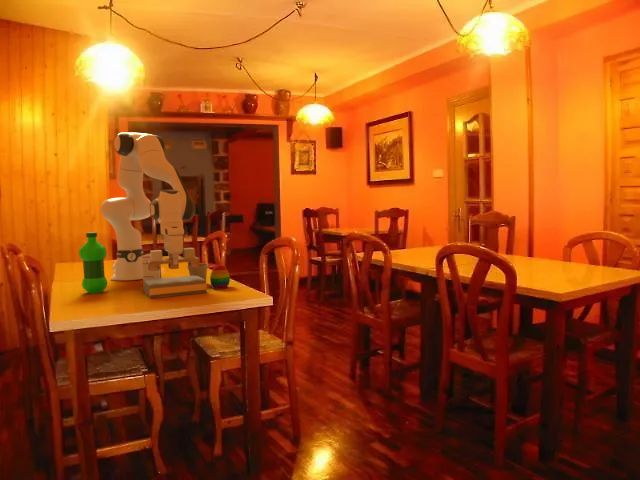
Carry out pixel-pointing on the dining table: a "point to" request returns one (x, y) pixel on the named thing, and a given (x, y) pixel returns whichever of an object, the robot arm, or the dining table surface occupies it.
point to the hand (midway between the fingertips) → (173, 263)
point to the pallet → (154, 265)
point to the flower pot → (199, 270)
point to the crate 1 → (156, 255)
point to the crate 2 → (188, 253)
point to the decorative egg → (219, 277)
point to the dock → (174, 286)
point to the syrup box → (147, 273)
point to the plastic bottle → (93, 264)
